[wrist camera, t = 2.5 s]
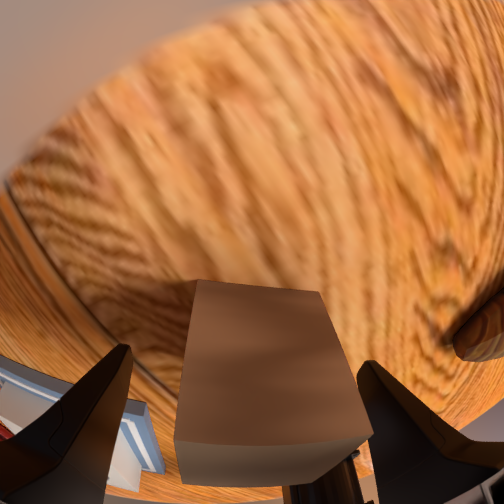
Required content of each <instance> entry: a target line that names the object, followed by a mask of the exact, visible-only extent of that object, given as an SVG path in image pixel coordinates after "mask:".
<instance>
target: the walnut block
mask: <svg viewBox="0 0 504 504" xmlns="http://www.w3.org/2000/svg"><path fill="white" fill-rule="evenodd" d="M373 434H374V432H373V430H372V427H371V424H370V421H369V418H368V415H367V412H366V410H365V407H364V404H363V401H362V399H361V396H360V393H359V390H358V388H357V385H356V382H355V380H354V377H353V375H352V372H351V369H350V367H349V364H348V362H347V359H346V356H345V354H344V351H343V349H342V346H341V344H340V341H339V339H338V336H337V334H336V332H335V329H334V327H333V324H332V322H331V319H330V317H329V315H328V312H327V310H326V307H325V305H324V303H323V300H322V298H321V296H320V293H319V292H316V291H304V290H293V289H282V288H272V287H262V286H253V285H243V284H234V283H225V282H217V281H208V280H200V279H198V281H197V286H196V292H195V297H194V302H193V308H192V314H191V319H190V325H189V331H188V337H187V343H186V349H185V356H184V362H183V369H182V376H181V383H180V390H179V398H178V405H177V414H176V422H175V431H174V446H175V451H176V456H177V461H178V466H179V471H180V475H181V480H182V484H190V485H200V486H213V487H274V486H287V485H297V484H306V483H312V482H313V481H315V480H316V479H318V478H319V477H321V476H322V475H323V474H325V473H326V472H328V471H329V470H330V469H332V468H333V467H334V466H336V465H337V464H338V463H340V462H341V461H342V460H343V459H345V458H346V457H347V456H348V455H350V454H351V453H352V452H353V451H355V450H356V449H357V448H358V447H359V446H360V445H362V444H363V443H364V442H365V441H366V440H367V439H368V438H370V437H371V436H372V435H373Z"/></svg>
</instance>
